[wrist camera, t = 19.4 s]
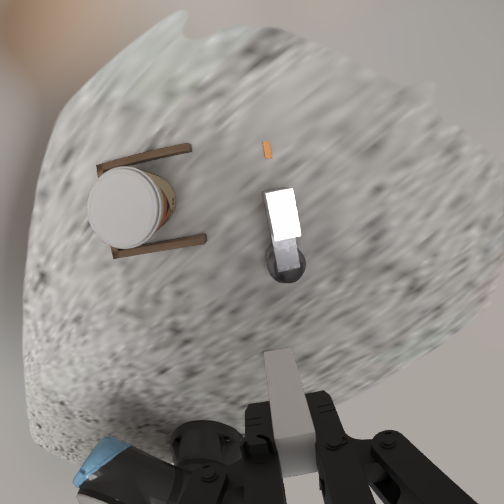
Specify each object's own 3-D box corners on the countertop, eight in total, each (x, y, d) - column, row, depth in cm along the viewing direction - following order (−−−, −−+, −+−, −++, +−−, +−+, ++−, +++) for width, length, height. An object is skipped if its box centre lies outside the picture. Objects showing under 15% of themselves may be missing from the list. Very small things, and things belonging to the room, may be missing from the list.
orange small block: (271, 157, 43) (271, 157, 42) (265, 158, 43) (265, 158, 42) (269, 141, 42) (269, 141, 42) (262, 142, 42) (262, 141, 42)
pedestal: (301, 269, 46) (307, 280, 41) (267, 275, 46) (270, 286, 41) (297, 237, 45) (303, 243, 40) (263, 242, 45) (265, 249, 40)
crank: (302, 275, 41) (314, 294, 34) (276, 281, 41) (282, 301, 34) (286, 186, 38) (296, 187, 31) (258, 192, 38) (261, 194, 31)
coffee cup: (159, 245, 45) (132, 266, 33) (111, 210, 44) (72, 220, 32) (194, 192, 43) (176, 196, 32) (143, 157, 42) (110, 150, 30)
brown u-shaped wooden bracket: (206, 240, 45) (204, 243, 42) (119, 255, 45) (113, 258, 43) (191, 144, 42) (188, 142, 39) (103, 165, 42) (96, 165, 40)
